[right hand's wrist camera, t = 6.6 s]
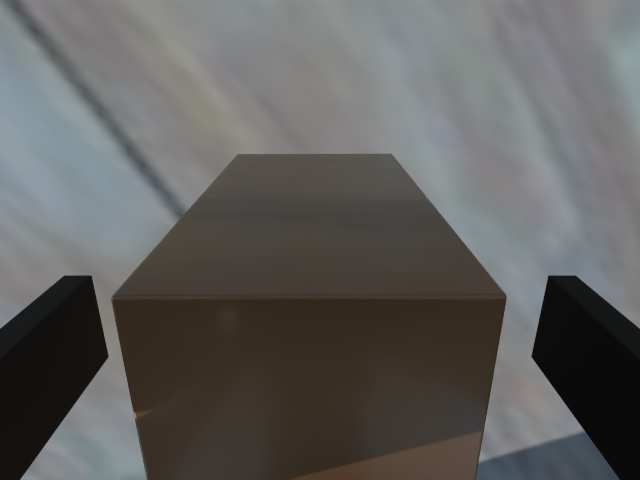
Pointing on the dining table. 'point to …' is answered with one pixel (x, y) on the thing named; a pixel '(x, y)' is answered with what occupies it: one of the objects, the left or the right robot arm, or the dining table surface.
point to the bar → (310, 329)
